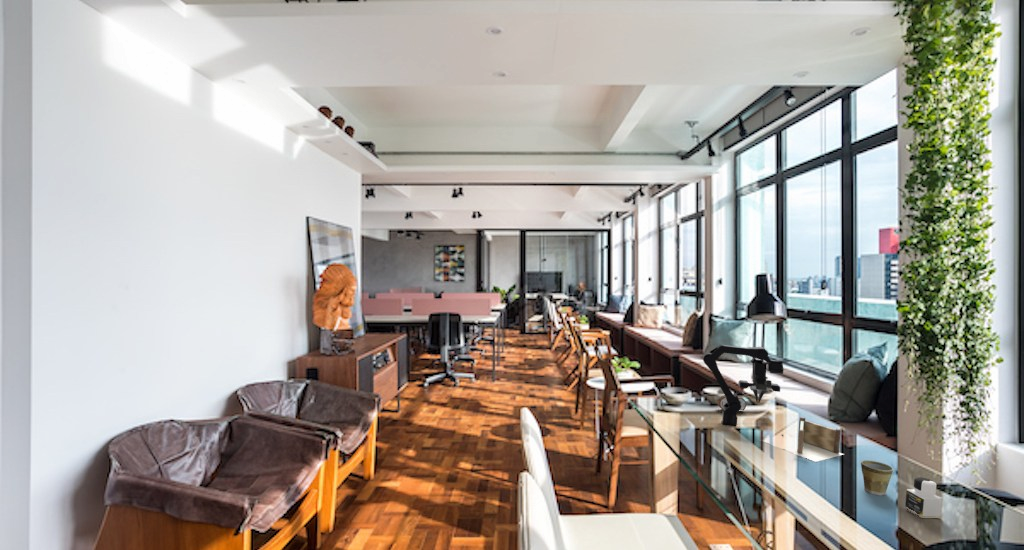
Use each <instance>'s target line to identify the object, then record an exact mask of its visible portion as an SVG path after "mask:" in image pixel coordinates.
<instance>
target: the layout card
mask: <svg viewBox="0 0 1024 550" xmlns="http://www.w3.org/2000/svg"><path fill="white" fill-rule="evenodd" d="M803 447H804V448H803V451H802V453H798V452H797V449H796V450H795V452H794V453H792V454H794V455H796V456H799V457H802V458H803V459H805V458H807V459H809V460H808V461H810V460H812V461H811V462H813V461H814V462H813V463H815V462H816V463H818V462H822V461H824V460H828V459H832V458H836V457H840V456H842V455H843V456H844V455H845V453H842V452H839V454H836V453H834V452H833V451H831V450H828V449H825V448H822V447H819V446H816V445H813V444H810V443H807V442H804V441H803ZM807 459H806V460H807Z"/></svg>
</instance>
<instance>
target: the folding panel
mask: <svg viewBox="0 0 1024 550" xmlns="http://www.w3.org/2000/svg"><path fill="white" fill-rule="evenodd" d="M803 424H804V421H801V424H800V430H799V429H798V433H799V435H798V434H797V436H798V437H797V438H798V449H797V452H798V453H802V451H803V438H804V430H803Z"/></svg>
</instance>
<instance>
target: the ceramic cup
mask: <svg viewBox="0 0 1024 550" xmlns="http://www.w3.org/2000/svg"><path fill="white" fill-rule="evenodd" d="M860 465H861V466H860V468H861V472H862V478H863V487H864V491H866V492H868V493H869V494H872V495H877V496H886V494H887V490H888V486H889V484H890V481H891V478H892V476H893V472H894V468H893V467H892V466H891V465H889V464H886V463H884V462H880V461H876V460H869V459H868V460H867V459H866V460H861V461H860Z"/></svg>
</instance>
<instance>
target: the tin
mask: <svg viewBox="0 0 1024 550" xmlns="http://www.w3.org/2000/svg"><path fill="white" fill-rule="evenodd" d="M737 396H738V399H739V400H740V401H741V403H740V404H741V409H740V410H743V411H744V410H745V409H746V407H747V401H746V399H745V398H743V397H742V396H739V395H737ZM726 403H727V400H726V397H725V394H724V395H721V396H720V397H718V400H717V406H718V407H719V408H720V409H721V410H722V411H724V408H723V405H725V404H726Z"/></svg>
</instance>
